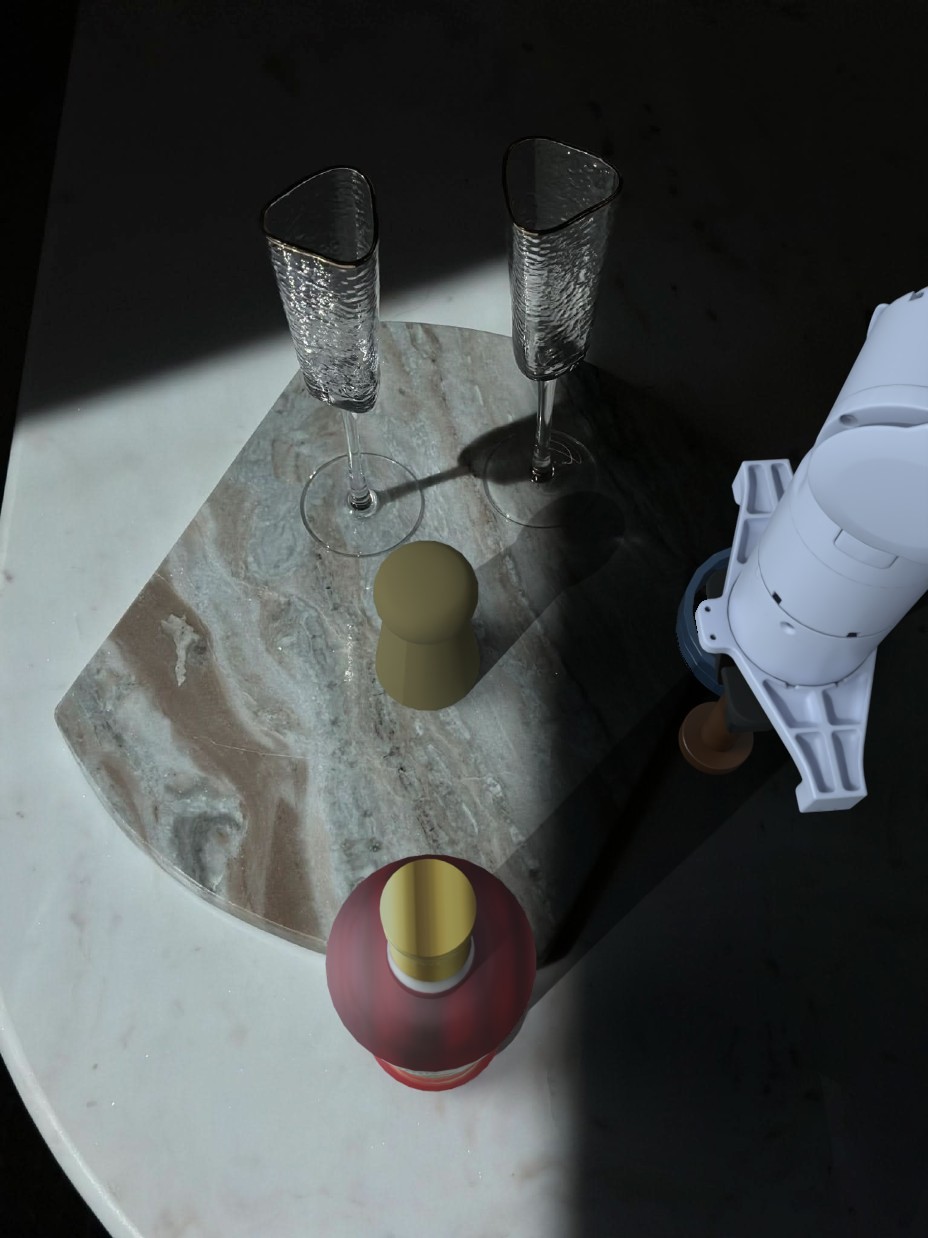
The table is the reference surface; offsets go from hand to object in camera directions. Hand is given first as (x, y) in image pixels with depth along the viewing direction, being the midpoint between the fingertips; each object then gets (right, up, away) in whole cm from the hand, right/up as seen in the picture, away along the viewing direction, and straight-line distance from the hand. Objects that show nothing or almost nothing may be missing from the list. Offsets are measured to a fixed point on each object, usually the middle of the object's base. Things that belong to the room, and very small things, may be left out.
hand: (742, 700), depth 53 cm
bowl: (+4, +3, +13) cm, 14 cm away
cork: (-15, +1, +12) cm, 19 cm away
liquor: (-14, -16, +4) cm, 22 cm away
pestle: (0, -2, +5) cm, 6 cm away
